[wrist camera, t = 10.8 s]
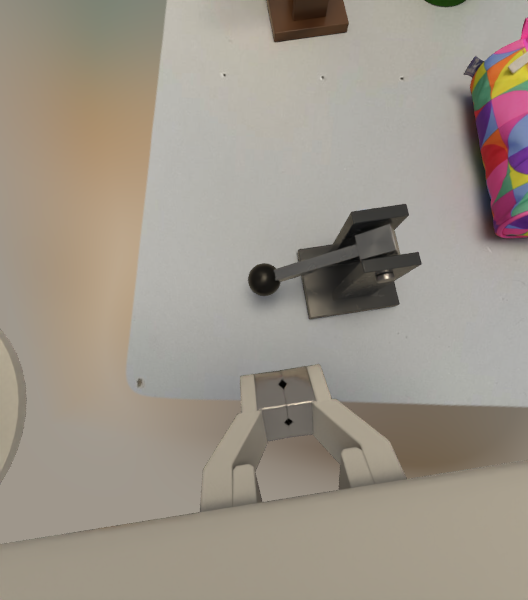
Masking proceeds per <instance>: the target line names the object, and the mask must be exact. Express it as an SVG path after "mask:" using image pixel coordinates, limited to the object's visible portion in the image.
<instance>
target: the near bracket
mask: <svg viewBox="0 0 528 600" xmlns="http://www.w3.org/2000/svg"><path fill="white" fill-rule="evenodd" d="M408 216H409V213H408V209H407V205H406V204H402V205H395V206H388V207H381V208H373V209H368V210H361V211H354V212H351V213H350V215H349V217H348V219H347V220H346V222H345V224H344V226H343V228H342V229H341V231H340V233H339V235H338V236H337V238H336V240H335V242H334V243H333V245H326V246H320V247H313V248H306V249H300V250H298V253H297V254H298V260H299V262H300V261H304V260H307V259H310V258H313V257H316V256H320V255H323V254H326V253H329V252H332V251H336V250H339V249H342V248H345V247H348V246H352V245H355V244H356V239H355V235H357V234H360V233H363V232H366V231H369V230H372V229H375V228H378V227H381V226H384V225H387V224H391V226H392V228H393V229H394V230H395V229H396V228H397V227H398V226H399V225H400V224H401V223H402V222H403V221H404V220H405V219H406V218H407V217H408ZM419 265H421V260H420V256H419V252H415V253H409V254H402V255H395V256H389V257H382V258H375V259H369V260H362V261H361V260H360V259H358V260H355V261H352V262H348V263H345V264H341V265H338V266H334V267H331V268H327V269H324V270H320V271H317V272H313V273H310V274H306V275H303V276H302V282H303V288H304V293H305V299H306V304H307V310H308V315H309V319H314V318H321V317H327V316H334V315H340V314H347V313H353V312H360V311H366V310H373V309H380V308H386V307H393V306H397V305H399V300H398V296H397V292H396V288H395V283H394V281H395V280H397V279H398V278H400V277H402V276H403V275H405V274H406V273H408V272H410V271H411V270H413V269H415V268H416V267H418V266H419Z"/></svg>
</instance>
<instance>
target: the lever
mask: <svg viewBox="0 0 528 600" xmlns="http://www.w3.org/2000/svg"><path fill="white" fill-rule="evenodd" d="M355 239H356V244H355V245H352V246H348V247H345V248H342V249H339V250H336V251H332V252H329V253H326V254H323V255H320V256H316V257H313V258H310V259H307V260H304V261H300V262H297V263H294V264H291V265H288V266H284V267H281V268H278V269H276V268H275V267H274V266H272V265H270V264H265V263H264V264H259V265H257V266H255V267H254V268H253V269H252V270H251V271H250V273H249V277H248V283H249V286H250V288H251V289H252V291H253V292H254V293H256V294H258V295H261V296H268V295H271V294H273V293H274V292H275V291H276V290H277V289H278V288H279V285H280V282H282V281H285V280H289V279H292V278H296V277H299V276H303V275H306V274H310V273H313V272H317V271H320V270H324V269H327V268H331V267H334V266H338V265H341V264H345V263H348V262H352V261H355V260H358V259H360V260H361V261H362V260H369V259H375V258H382V257H389V256H395V255H400V250H399V246H398V242H397V238H396V234H395V231H394V229H393V228H392V226H391V224H387V225H384V226H381V227H378V228H375V229H372V230H369V231H366V232H363V233H360V234H357V235H355Z"/></svg>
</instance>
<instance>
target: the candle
mask: <svg viewBox="0 0 528 600" xmlns="http://www.w3.org/2000/svg"><path fill="white" fill-rule="evenodd" d="M425 1H427V2H429V3H431V4H433V5H437V6H444V7H448V6H455V5H458V4H460V3H462V2H464V1H465V0H425Z"/></svg>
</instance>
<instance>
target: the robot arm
mask: <svg viewBox="0 0 528 600" xmlns="http://www.w3.org/2000/svg"><path fill="white" fill-rule="evenodd" d="M240 391H241V413H240V414H237V416H236V417H235V419H234V421H233V422H232V424H231V425H230V427H229V429H228V430H227V432H226V433H225V435H224V436H223V438H222V440H221V441H220V443H219V444H218V446H217V448H216V449H215V451H214V453H213V454H212V456H211V457H210V459H209V461H208V462H207V464H206V465H205V467H204V469H203V474H202V490H201V504H200V512H198V513H192V514H187V515H180V516H173V517H167V518H161V519H154V520H148V521H142V522H136V523H129V524H124V525H117V526H111V527H104V528H98V529H92V530H86V531H79V532H73V533H67V534H61V535H54V536H48V537H42V538H35V539H29V540H23V541H16V542H10V543H4V544H0V600H528V460H524V461H517V462H511V463H506V464H499V465H492V466H486V467H480V468H474V469H467V470H461V471H455V472H449V473H443V474H437V475H430V476H424V477H417V478H411V479H407V478H406V476H405V474H404V472H403V470H402V467H401V466H400V463H399V461H398V458H397V456H396V454H395V452H394V450H393V448H392V446H391V444H390V441H389V440H388V439H386V438H385V437H384V436H383V435H381V434H380V433H379V432H378V431H376V430H375V429H374V428H372V427H371V426H370V425H369V424H367V423H366V422H365V421H364V420H362V419H361V418H360V417H359V416H357V415H356V414H355V413H353V412H352V411H351V410H350V409H348V408H347V407H346V406H344V405H343V404H342V403H341V402H340V401H338V400H337V399H332V398H331V395H330V392H329V389H328V386H327V383H326V380H325V377H324V374H323V371H322V368H321V366H320V365H319V364H317V365H310V366H303V367H297V368H291V369H285V370H280V371H273V372H265V373H258V374H251V375H244V376H240ZM312 434H313V435H314V437H315V438H316V439H317V440H318V441H319V442H320V443H321V444H322V445H323V446H324V447H325V449H326V450H327V451H328V452H329V453H330V454H331V455H332V456H333V457H334V459H335V460H336V461H337V462H338V463H339V464H340V477H339V490H336V491H329V492H324V493H317V494H311V495H305V496H298V497H292V498H286V499H279V500H273V501H267V502H262V498H261V494H260V490H259V486H258V482H257V478H256V473H255V471H256V469H257V467H258V464H259V462H260V460H261V457H262V455H263V453H264V450H265V448H266V446H267V443H268V442H267V441H273V440H278V439H283V438H289V437H296V436H304V435H312Z"/></svg>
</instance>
